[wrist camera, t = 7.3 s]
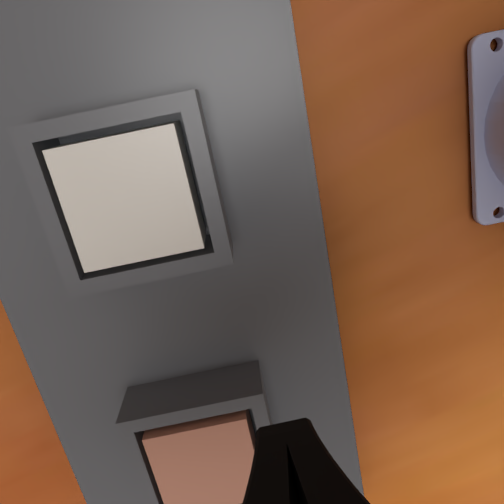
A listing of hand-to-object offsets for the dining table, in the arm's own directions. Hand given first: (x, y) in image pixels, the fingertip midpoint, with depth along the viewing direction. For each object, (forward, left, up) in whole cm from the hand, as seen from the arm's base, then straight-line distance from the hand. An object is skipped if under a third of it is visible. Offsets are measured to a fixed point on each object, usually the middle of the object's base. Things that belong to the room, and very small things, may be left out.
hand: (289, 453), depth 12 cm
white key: (+4, -6, -8) cm, 11 cm away
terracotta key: (+4, +6, -8) cm, 11 cm away
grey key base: (+4, 0, -10) cm, 11 cm away
